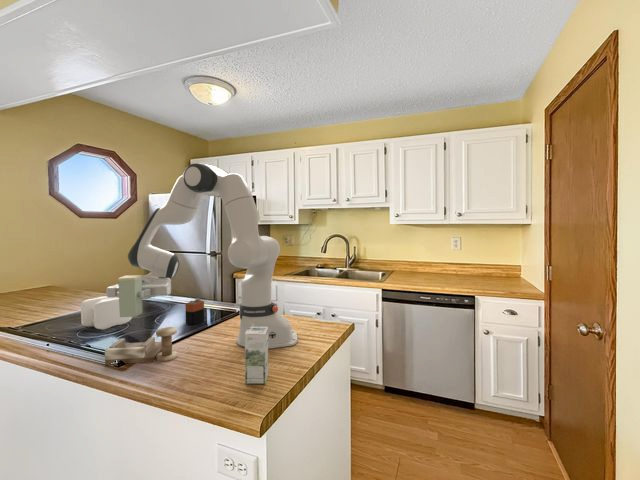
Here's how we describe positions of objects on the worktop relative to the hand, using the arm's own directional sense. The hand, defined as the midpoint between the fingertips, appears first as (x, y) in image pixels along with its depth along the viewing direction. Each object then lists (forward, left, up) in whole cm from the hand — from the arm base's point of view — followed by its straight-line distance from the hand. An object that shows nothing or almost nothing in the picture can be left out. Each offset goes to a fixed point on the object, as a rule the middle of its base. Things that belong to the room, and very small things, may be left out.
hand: (129, 295), depth 103 cm
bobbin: (-14, +6, -20) cm, 24 cm away
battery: (-14, -29, -20) cm, 38 cm away
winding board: (-4, +3, -20) cm, 20 cm away
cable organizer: (+22, -30, -20) cm, 42 cm away
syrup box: (-44, +24, -20) cm, 53 cm away
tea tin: (0, -1, -7) cm, 7 cm away
